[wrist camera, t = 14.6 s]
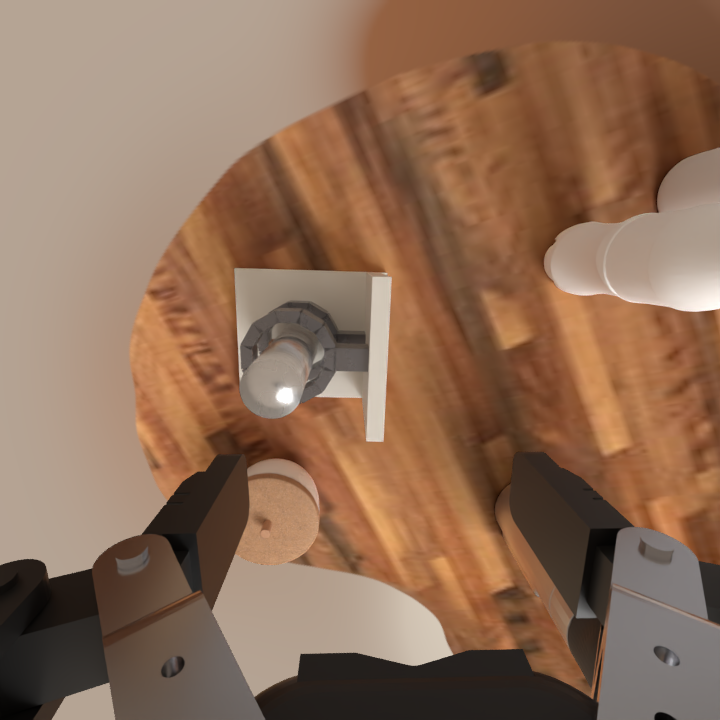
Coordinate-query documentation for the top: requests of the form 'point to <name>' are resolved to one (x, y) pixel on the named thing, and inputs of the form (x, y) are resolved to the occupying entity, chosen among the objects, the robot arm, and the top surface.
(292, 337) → the steel tube
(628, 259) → the water bottle
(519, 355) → the top surface
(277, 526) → the lidded jar
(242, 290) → the tube holder
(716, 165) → the milk bottle
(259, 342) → the collars
